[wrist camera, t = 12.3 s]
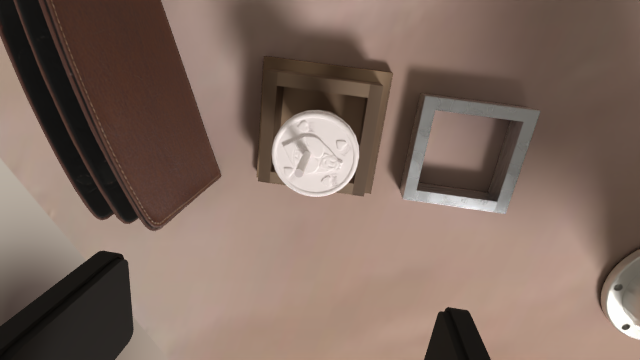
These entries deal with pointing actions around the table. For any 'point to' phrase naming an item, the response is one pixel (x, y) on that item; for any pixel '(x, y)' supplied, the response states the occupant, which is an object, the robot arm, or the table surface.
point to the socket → (324, 109)
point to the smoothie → (315, 153)
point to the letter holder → (112, 103)
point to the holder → (506, 166)
